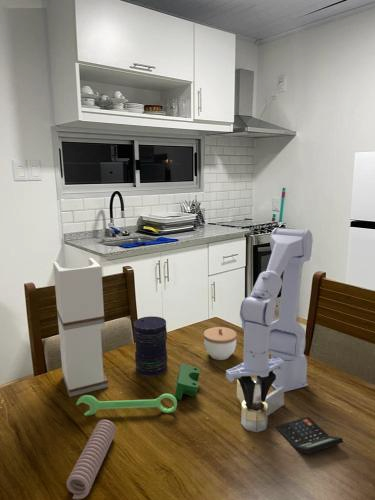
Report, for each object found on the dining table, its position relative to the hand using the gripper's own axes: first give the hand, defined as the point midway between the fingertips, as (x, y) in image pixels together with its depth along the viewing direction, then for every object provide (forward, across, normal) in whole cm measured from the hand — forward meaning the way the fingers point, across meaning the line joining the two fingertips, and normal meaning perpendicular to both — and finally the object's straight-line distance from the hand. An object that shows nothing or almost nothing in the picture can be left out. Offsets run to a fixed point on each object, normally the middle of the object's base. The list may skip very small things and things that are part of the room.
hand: (254, 401), depth 91 cm
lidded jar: (+6, +8, +34) cm, 35 cm away
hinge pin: (+2, 0, 0) cm, 2 cm away
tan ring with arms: (+6, +4, +4) cm, 8 cm away
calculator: (+7, +8, -9) cm, 14 cm away
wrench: (+6, -27, +16) cm, 32 cm away
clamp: (+6, -10, +19) cm, 22 cm away
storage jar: (+6, -15, +35) cm, 39 cm away
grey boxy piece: (+6, -35, +35) cm, 50 cm away
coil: (+6, -38, +2) cm, 38 cm away
